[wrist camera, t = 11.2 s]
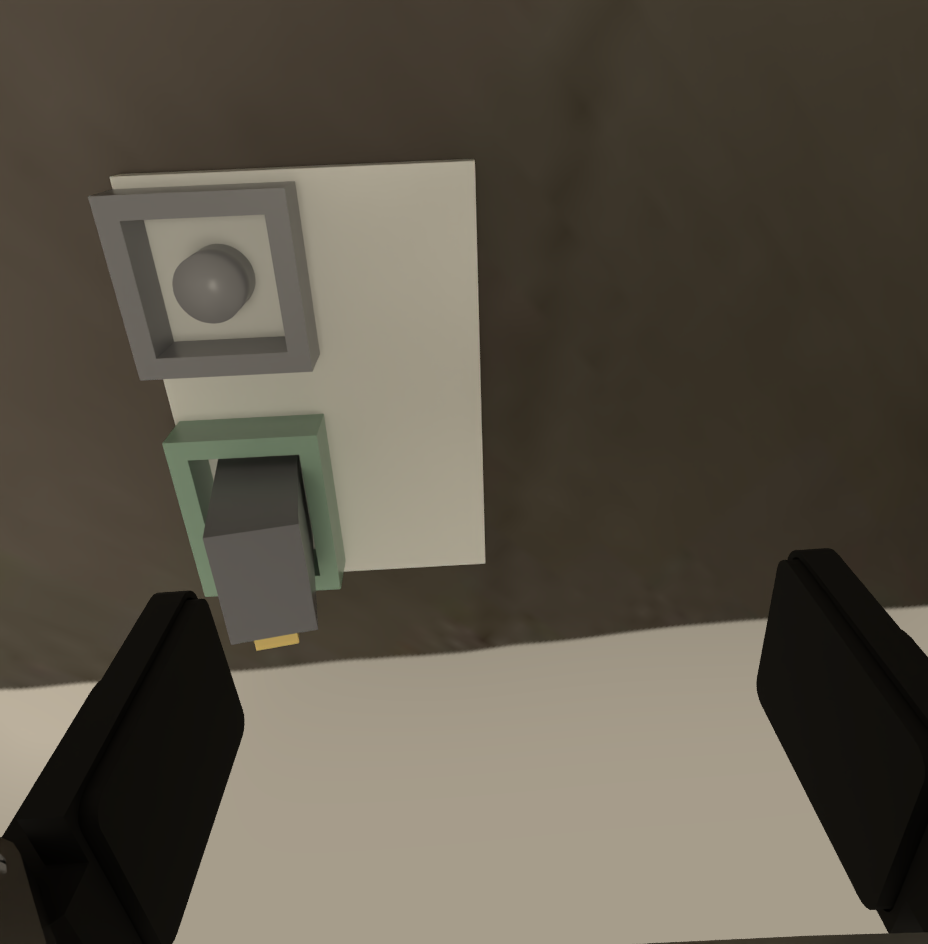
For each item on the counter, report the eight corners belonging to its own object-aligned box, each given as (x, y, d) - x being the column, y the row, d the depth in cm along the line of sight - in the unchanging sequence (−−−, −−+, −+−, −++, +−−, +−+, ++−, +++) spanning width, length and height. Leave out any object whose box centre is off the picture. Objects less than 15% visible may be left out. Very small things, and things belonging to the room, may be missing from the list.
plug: (296, 444, 36) (298, 523, 30) (314, 548, 40) (320, 641, 33) (219, 454, 36) (202, 538, 29) (244, 559, 39) (234, 657, 32)
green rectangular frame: (323, 413, 36) (316, 435, 33) (345, 561, 40) (340, 588, 38) (179, 421, 35) (162, 443, 33) (217, 568, 40) (205, 596, 38)
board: (473, 158, 31) (478, 166, 28) (484, 551, 42) (488, 589, 39) (120, 174, 31) (84, 183, 28) (221, 566, 41) (204, 606, 38)
